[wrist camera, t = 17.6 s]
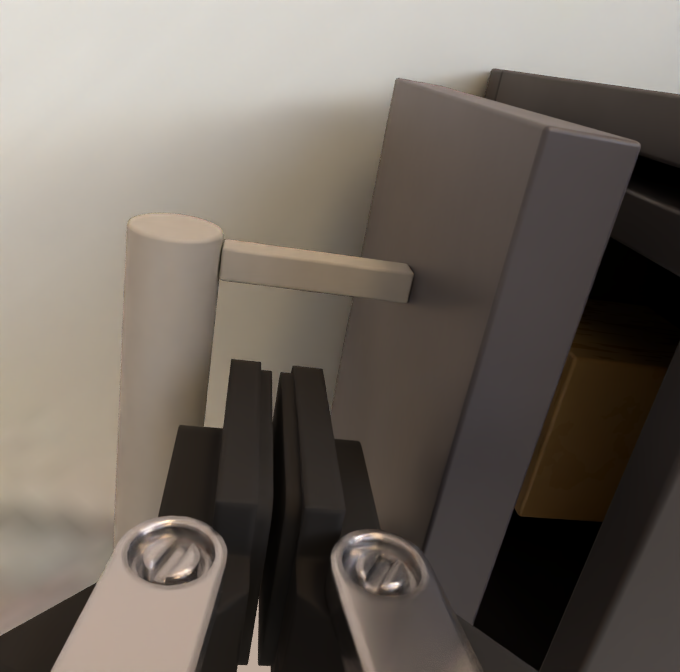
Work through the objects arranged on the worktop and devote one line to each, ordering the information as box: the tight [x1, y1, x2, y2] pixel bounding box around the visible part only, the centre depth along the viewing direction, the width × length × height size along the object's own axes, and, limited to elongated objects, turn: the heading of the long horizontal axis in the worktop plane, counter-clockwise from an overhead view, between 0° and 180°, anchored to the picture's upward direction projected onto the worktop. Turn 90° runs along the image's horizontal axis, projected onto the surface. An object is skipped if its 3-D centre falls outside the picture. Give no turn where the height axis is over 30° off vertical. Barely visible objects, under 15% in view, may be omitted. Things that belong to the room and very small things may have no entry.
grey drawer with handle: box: [113, 78, 680, 672], centre depth 14 cm, size 20×13×9 cm, turn 80°
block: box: [514, 299, 680, 522], centre depth 16 cm, size 4×4×4 cm
